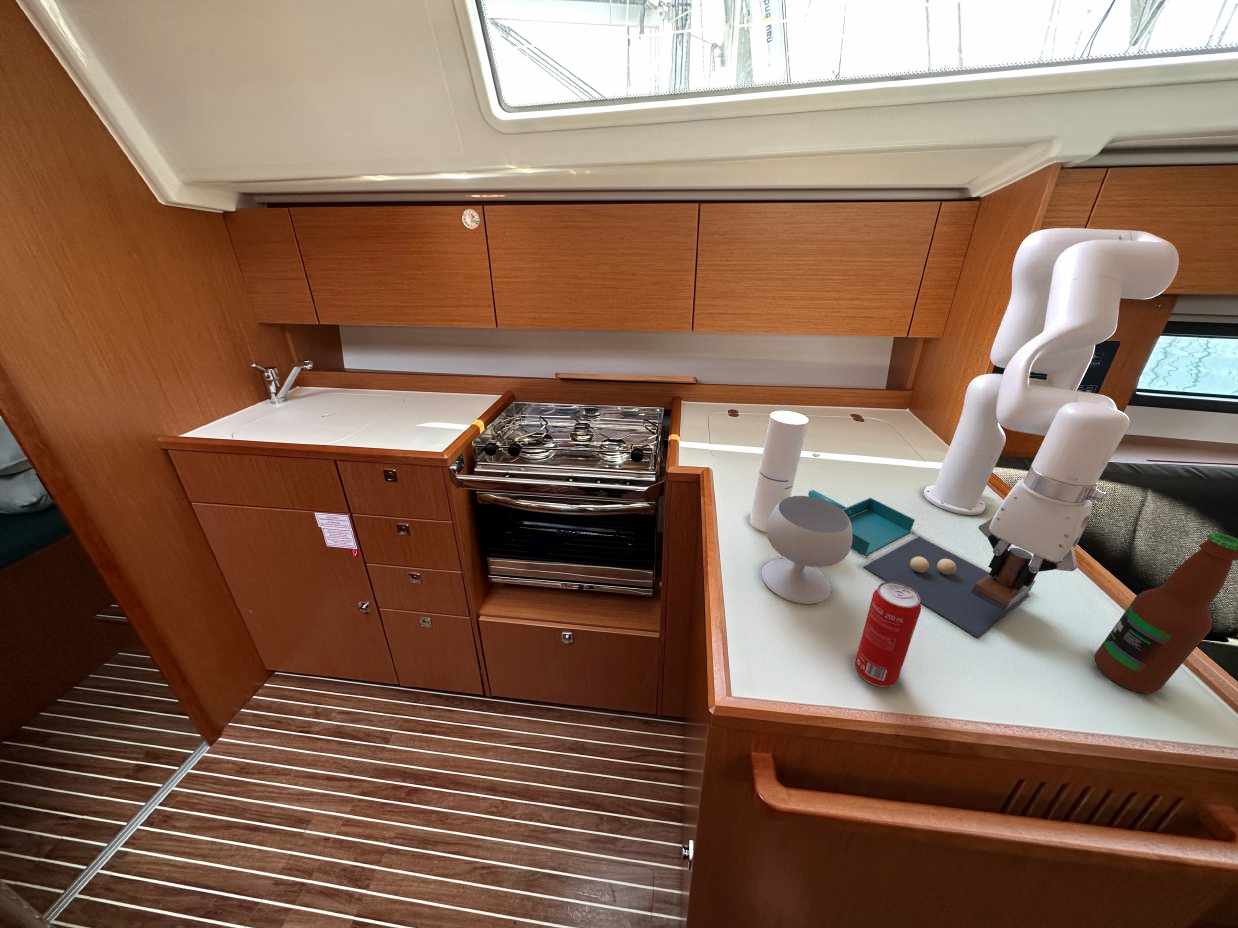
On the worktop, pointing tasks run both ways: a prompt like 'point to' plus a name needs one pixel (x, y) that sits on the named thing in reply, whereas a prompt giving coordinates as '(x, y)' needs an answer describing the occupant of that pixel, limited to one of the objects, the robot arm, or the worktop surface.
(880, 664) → the beverage can
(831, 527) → the chalice
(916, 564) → the crumb
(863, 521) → the dustpan
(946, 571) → the crumb
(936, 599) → the mat
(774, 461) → the cylindrical container
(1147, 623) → the bottle
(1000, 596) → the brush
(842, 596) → the worktop surface
